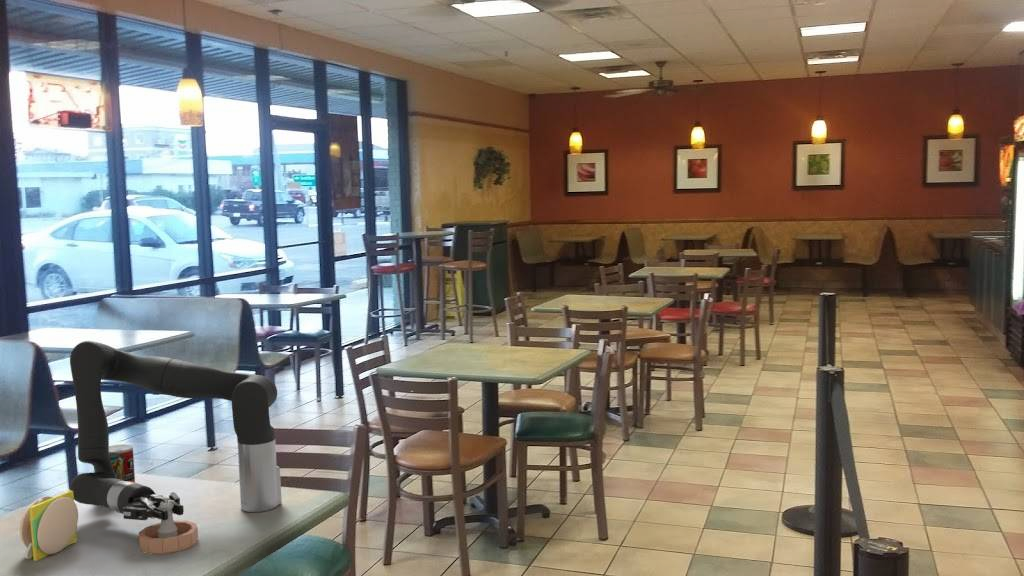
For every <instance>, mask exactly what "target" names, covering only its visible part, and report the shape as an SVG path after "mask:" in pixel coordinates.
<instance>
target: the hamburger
mask: <svg viewBox="0 0 1024 576" xmlns="http://www.w3.org/2000/svg"><path fill="white" fill-rule="evenodd" d="M78 523H79V511H78V506H77V504H76V502H75V500H74V495H73V491H70V490H69V491H66V492H63V493H61V494H59V495H55V496H53V497H52V496H44V497H40V498H38V499H36V500H35V501H33V502H32V503H31V504H30V505H29V506H28V507H27V508H26V510H25V512H24V513H23V516H22V518H21V520H20V525H19V537H20V540H21V541H22V543H23V545H24V546H25V547H26V550H25V552H24V558H25V559H27V560H31V558H33V561H34V562H36V561H39V560H41V559H43V558H45V557H48V556H49V555H55V554H57V553H60V552H61V551H62V550H64V548H66V547H68V546H70V545H72V544H74V543H76V542H78V540H77V539H78V537H77V530H78ZM75 541H76V542H75ZM73 542H74V543H73ZM67 545H68V546H67ZM65 546H66V547H65Z"/></svg>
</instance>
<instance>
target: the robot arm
mask: <svg viewBox="0 0 1024 576" xmlns="http://www.w3.org/2000/svg"><path fill="white" fill-rule="evenodd" d="M69 365H70V371H71V372H70V373H71V378H72V383H73V388H74V396H75V404H76V413H77V414H76V415H77V458H78V459H77V460H78V461H79V462H80V463H84V464H89V465H92V467H93V469H94V468H95V471H96V472H94V471H93V472H84V473H79V474H77V475H75V476H73V479H72V480H70V483H69V491H73V495H74V502H75V501H76V502H77V503H79V504H84V505H91V506H102V507H105V508H108V509H110V510H113V511H115V512H116V513H118V514H122V516H123V519H124V520H134V521H147V520H148V519H153V520H154V519H158V520H160V521H161V520H164V521H165V520H167V519H168V512H167V510H164V509H161V508H159V506H160V503H161V502H162V501H163V503H165V501H167V502H168V501H172V504H173V505H174V507H173V508H172V511H173V513H172V514H174V515H177V516H183V515H184V512H185V509H184V505H182V504H181V498H180V497H179V495H178V494H177V493H176V492H170V493H169V495H168V496H164V495H162V494H161V495H160V494H159V495H158V494H156V493H155V491H154V490H153V489H152V488H151V487H149V486H147V485H144V484H140V483H137V482H135V483H134V482H129V481H123V480H120V479H116V476H115V473H114V470H113V467H112V463H111V459H110V456H109V446H110V445H109V442H110V437H109V432H110V431H109V424H108V419H107V415H106V412H105V408H104V404H103V400H102V389H101V388H102V386H101V385H102V381H103V380H104V381H114V382H123V383H128V384H131V385H135V386H138V387H141V388H144V389H146V390H149V391H151V392H153V393H154V392H155V393H157V394H162V395H167V396H170V397H175V398H180V399H219V400H226V401H229V402H231V410H232V411H231V412H232V413H231V414H232V425H233V430H234V433H235V434H236V438H237V439H236V441H237V454H238V455H237V456H238V475H239V476H238V477H239V478H238V479H239V494H240V509H241V510H242V511H244V512H247V513H248V512H249V513H259V512H266V511H269V510H273V509H275V508H277V507H278V506H279V505H280V504H283V502H282V486H281V485H282V484H281V482H282V481H281V468H280V466H278V465H277V449H276V430H275V428H274V426H272V425H271V421H270V419H271V418H270V409H269V408H271V406H272V405H273V404H274V403H275V402H276V401H277V398H278V388H277V385H276V384H275V383H274V382H273V381H272V380H271V379H270V378H269V377H267V376H264V375H261V374H260V375H259V374H251V373H242V372H241V373H240V372H233V371H226V370H224V369H223V370H222V369H219V368H215V367H211V366H208V365H207V366H206V365H202V364H199V363H195V362H190V361H187V360H181V359H176V358H172V357H167V356H154V355H153V356H151V355H149V356H147V355H138V354H134V353H130V352H127V351H124V350H121V349H118V348H115V347H112V346H111V345H107V344H104V343H100V342H99V341H98V342H97V341H93V340H86V341H82V342H79V343H78V344H76V346H74V347H73V349H72V350H71V353H70V356H69Z"/></svg>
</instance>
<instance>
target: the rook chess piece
mask: <svg viewBox="0 0 1024 576" xmlns="http://www.w3.org/2000/svg"><path fill="white" fill-rule="evenodd" d="M173 507H174V505H173V504H172V501H168V502H167V501H165V503H163V501H162V502H161V503H160V506H159V508H161V509H164V510H167V512H168V519H167V520H165V521H164V520H161V519H160V523H161V525H160V526H159V527H160V528H159V529H158V533H159V534H158V537H159V538H168V537H175V536H177V534H178V532H177V530H178V529H177V527H176V526H175V524H174V521H175V520H174V516H173V514H174V513H173V511H172V508H173Z"/></svg>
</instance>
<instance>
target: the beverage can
mask: <svg viewBox="0 0 1024 576" xmlns="http://www.w3.org/2000/svg"><path fill="white" fill-rule="evenodd" d="M109 456H110V459H111V463H112V467H113V470H114V473H115V476H116V479H120V480H123V481H124V471H123V460H122V459H121V458H120V454H117V453H109ZM94 472H96V471H95V468H94V467H93V473H94Z"/></svg>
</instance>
